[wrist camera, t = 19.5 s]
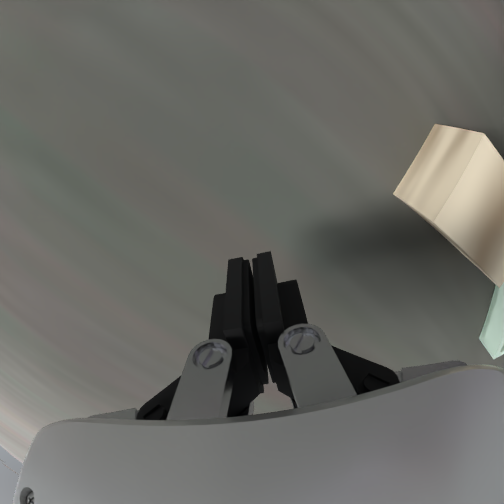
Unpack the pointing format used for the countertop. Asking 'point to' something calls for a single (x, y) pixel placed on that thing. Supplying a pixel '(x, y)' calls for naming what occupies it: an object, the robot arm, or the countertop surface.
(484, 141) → the block
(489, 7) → the countertop surface
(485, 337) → the tray
